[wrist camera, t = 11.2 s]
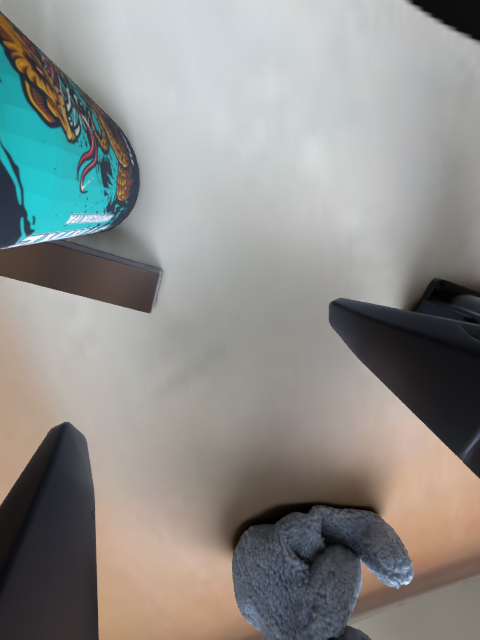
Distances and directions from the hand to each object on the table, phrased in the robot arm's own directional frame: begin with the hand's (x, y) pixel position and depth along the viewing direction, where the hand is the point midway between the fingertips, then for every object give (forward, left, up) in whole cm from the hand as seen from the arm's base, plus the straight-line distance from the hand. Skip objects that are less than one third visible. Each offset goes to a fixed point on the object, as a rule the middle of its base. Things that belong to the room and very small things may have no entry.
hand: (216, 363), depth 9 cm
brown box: (+9, +2, -12) cm, 15 cm away
